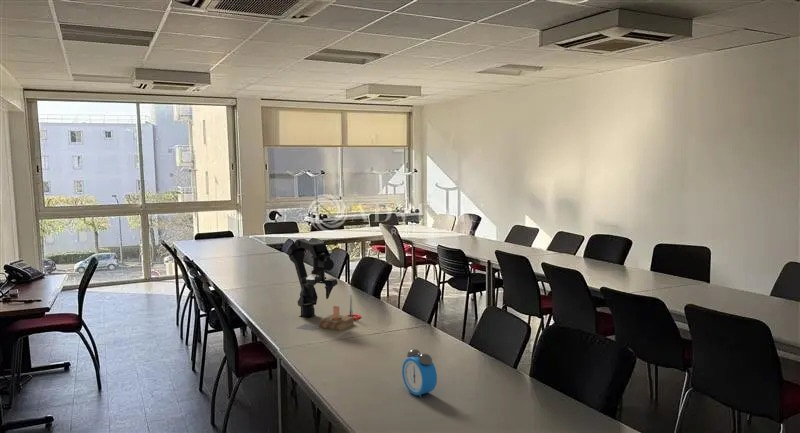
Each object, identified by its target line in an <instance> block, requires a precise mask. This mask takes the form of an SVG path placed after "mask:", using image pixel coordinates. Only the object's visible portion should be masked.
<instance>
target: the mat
mask: <svg viewBox="0 0 800 433" xmlns="http://www.w3.org/2000/svg"><path fill="white" fill-rule="evenodd" d="M296 329H299V330H305V331H306V330H307V331H311V332H314V331H315V330H318V329H320V325H314V324H306V323H305V324H303V325H300V326H298V327H296Z"/></svg>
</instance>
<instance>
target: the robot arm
mask: <svg viewBox="0 0 800 433" xmlns="http://www.w3.org/2000/svg"><path fill="white" fill-rule="evenodd" d="M306 251H309V253H310V254H311V259H312V270H311V272H310V274H309V275H308V273H307V270H306V266H305V262H304V259H305V252H306ZM286 252H287V255H288V258H289V260H290V261H291V262H292V263H293V264H294V266H295V271H296V273H297V278H298V281H299V282H298V283H299V286H300V292H299V296H300V297H299V299H298V300H297V305H298V306H299V307H300V315H299V316H298V317H299V318H305V319H310V318H313V317H316V314H315V310H316V309H315V305H316V306H317V303H318V293H317V290H316V288H315V286H316V284H323V285H325V286H324V288H325V299H326V300H328V299H329V297H330V295H331V293H332V290H333V289H334V287H336V286H337V285H338V284H339V283H338V280H337V279H336V278H328V279H327V277H326V275H325V274H326V273H325V272H327V271H331V270H332V269H334V266H335V263H334V261H333V260H332V259H331V256H330V252H329V249H328V247H327V245H326V243H324V242H313V241H311V240H307V239H305V238H298V239H296V240H295V242H293V243H292V244H291V245H289V247H288V249H287V251H286Z"/></svg>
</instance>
